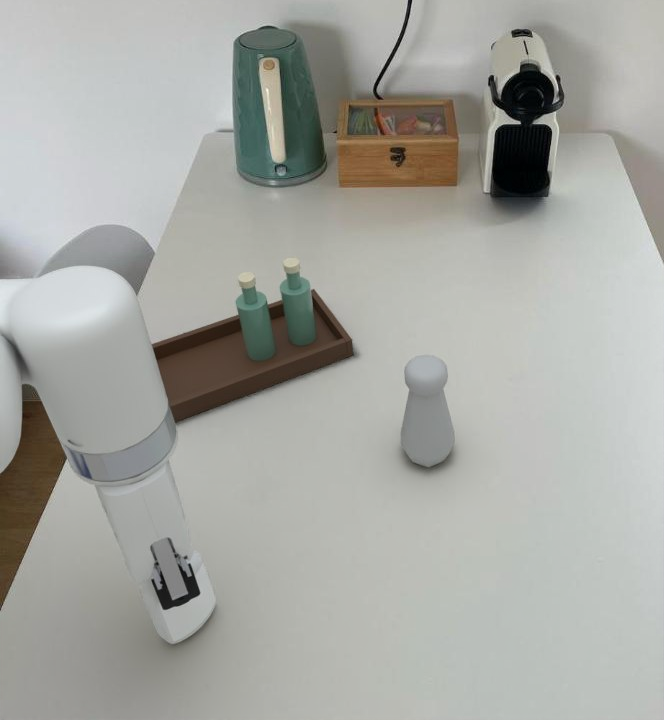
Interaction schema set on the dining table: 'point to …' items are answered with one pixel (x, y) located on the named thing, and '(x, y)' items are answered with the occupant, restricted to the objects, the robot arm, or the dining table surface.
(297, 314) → the green bottle
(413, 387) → the salt shaker
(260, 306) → the green bottle
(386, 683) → the dining table surface
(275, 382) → the tray
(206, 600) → the white plastic bottle
